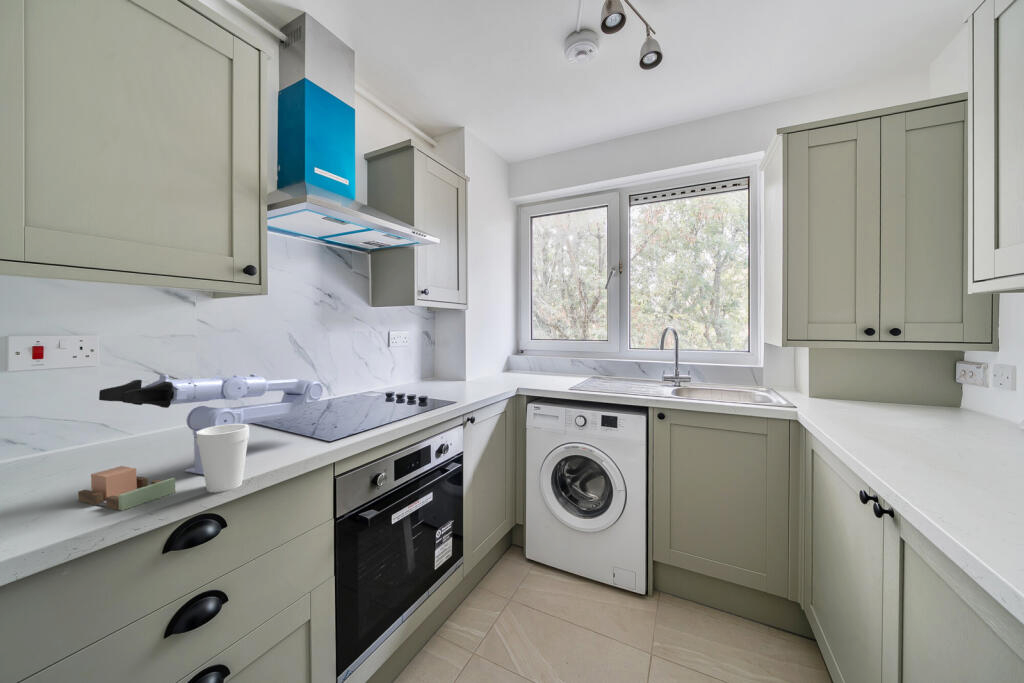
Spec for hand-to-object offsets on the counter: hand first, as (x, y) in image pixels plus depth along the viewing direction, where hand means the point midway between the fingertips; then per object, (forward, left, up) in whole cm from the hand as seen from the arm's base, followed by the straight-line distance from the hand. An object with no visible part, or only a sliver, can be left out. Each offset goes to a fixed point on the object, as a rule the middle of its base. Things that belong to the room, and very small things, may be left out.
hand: (111, 396), depth 77 cm
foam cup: (-12, +14, -22) cm, 29 cm away
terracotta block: (-2, -4, -22) cm, 22 cm away
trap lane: (-2, 0, -22) cm, 22 cm away
